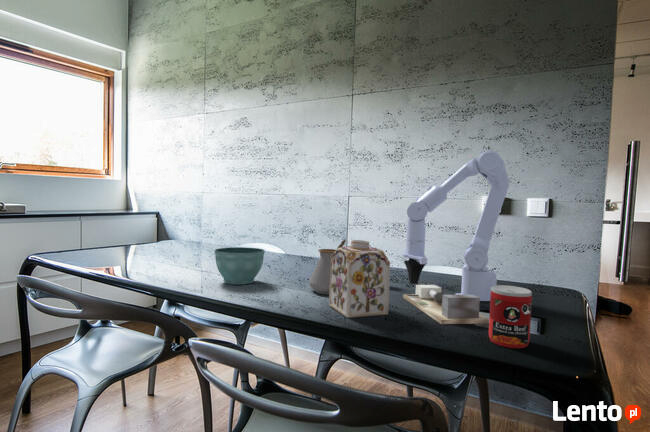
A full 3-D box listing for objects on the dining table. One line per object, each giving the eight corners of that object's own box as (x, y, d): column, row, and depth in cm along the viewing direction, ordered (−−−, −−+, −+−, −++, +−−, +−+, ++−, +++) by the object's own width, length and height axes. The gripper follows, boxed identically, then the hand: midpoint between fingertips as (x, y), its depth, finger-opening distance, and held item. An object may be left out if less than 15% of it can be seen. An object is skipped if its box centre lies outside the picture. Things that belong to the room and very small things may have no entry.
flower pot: (204, 280, 129) (205, 248, 128) (247, 275, 139) (248, 245, 139) (228, 290, 117) (229, 254, 116) (273, 284, 128) (274, 251, 127)
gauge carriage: (434, 294, 114) (435, 284, 114) (450, 303, 105) (451, 292, 105) (405, 294, 113) (405, 284, 113) (418, 303, 103) (418, 292, 103)
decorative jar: (328, 305, 103) (330, 238, 102) (366, 303, 107) (369, 238, 107) (347, 319, 92) (350, 243, 91) (389, 315, 96) (392, 243, 96)
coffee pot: (338, 298, 112) (340, 246, 111) (302, 293, 116) (304, 243, 116) (359, 284, 132) (361, 240, 131) (328, 280, 136) (330, 238, 135)
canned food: (489, 345, 78) (491, 290, 77) (487, 333, 85) (490, 283, 85) (531, 351, 75) (535, 295, 74) (526, 338, 82) (529, 287, 82)
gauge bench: (441, 297, 117) (441, 277, 117) (488, 323, 92) (489, 298, 92) (403, 297, 115) (403, 277, 115) (441, 324, 90) (442, 298, 90)
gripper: (395, 238, 129) (393, 278, 129) (412, 242, 115) (410, 288, 115) (415, 238, 130) (414, 278, 130) (434, 243, 116) (432, 288, 116)
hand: (413, 283), depth 123 cm, fingers closed
